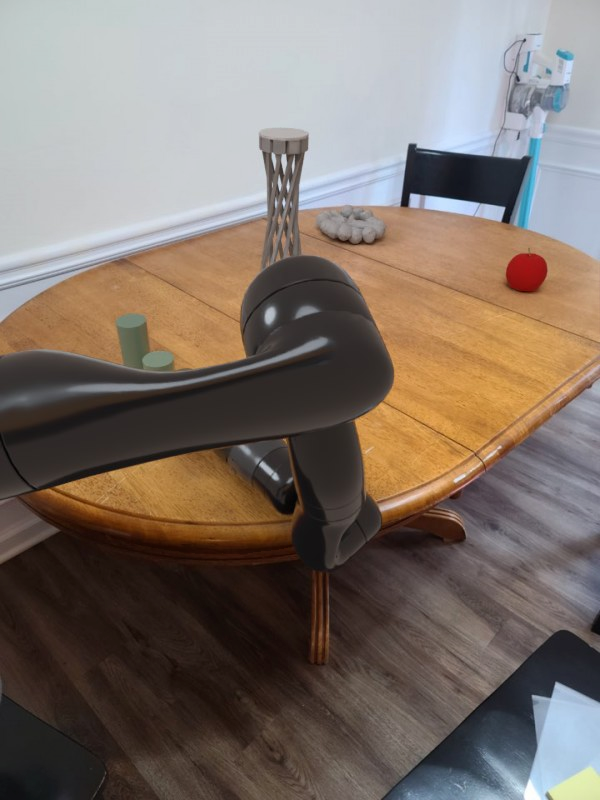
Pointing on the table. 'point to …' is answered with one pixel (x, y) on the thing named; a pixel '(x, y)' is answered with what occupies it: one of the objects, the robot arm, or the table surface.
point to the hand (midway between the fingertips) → (191, 394)
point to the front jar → (159, 361)
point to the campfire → (351, 224)
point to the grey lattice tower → (282, 189)
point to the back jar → (133, 339)
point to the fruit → (526, 271)
